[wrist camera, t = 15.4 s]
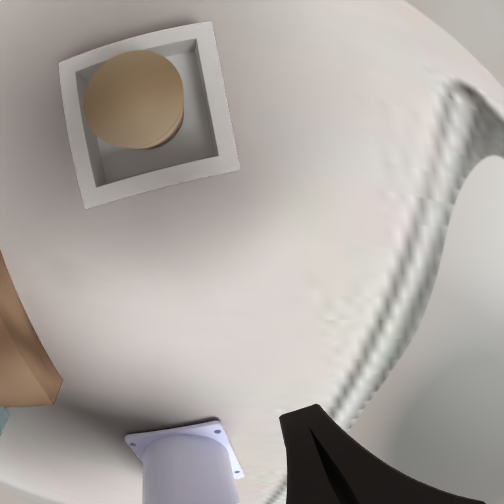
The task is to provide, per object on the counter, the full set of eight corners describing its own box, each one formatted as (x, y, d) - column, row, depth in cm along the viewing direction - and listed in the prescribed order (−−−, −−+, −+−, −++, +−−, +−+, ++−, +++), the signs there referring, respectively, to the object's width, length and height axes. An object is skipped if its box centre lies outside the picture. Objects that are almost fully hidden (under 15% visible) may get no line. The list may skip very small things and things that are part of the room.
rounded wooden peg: (190, 139, 14) (192, 132, 10) (121, 157, 14) (93, 160, 9) (177, 74, 13) (174, 40, 8) (109, 92, 13) (77, 68, 8)
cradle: (232, 166, 16) (240, 169, 13) (99, 200, 15) (85, 209, 12) (208, 37, 13) (211, 21, 11) (74, 73, 12) (58, 63, 10)
